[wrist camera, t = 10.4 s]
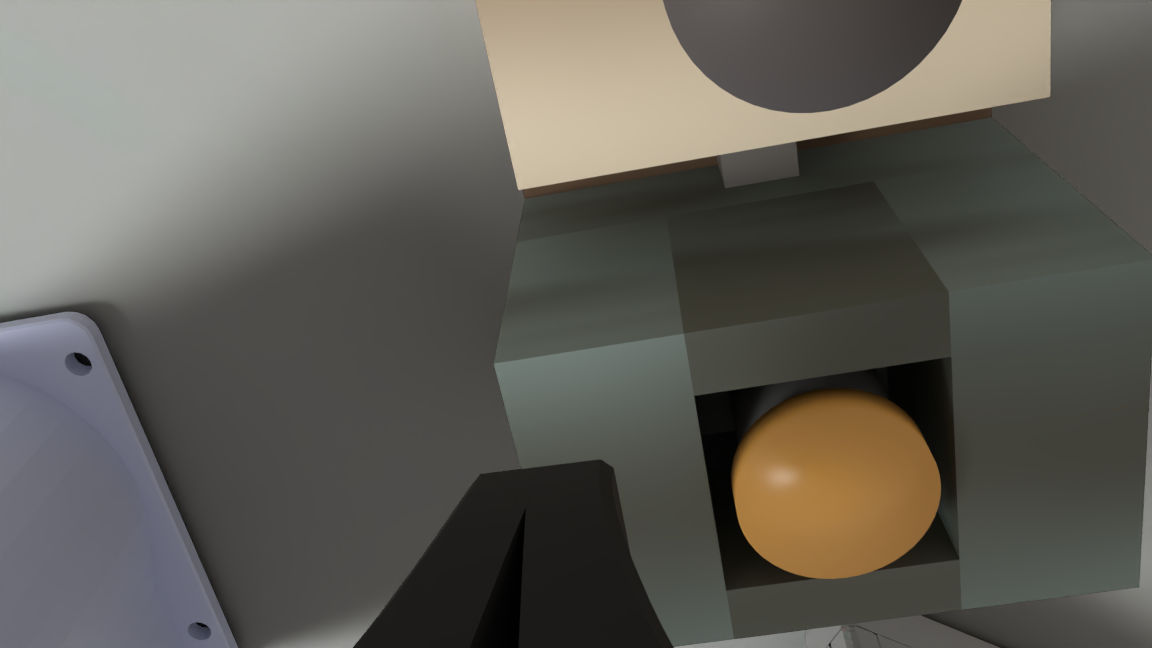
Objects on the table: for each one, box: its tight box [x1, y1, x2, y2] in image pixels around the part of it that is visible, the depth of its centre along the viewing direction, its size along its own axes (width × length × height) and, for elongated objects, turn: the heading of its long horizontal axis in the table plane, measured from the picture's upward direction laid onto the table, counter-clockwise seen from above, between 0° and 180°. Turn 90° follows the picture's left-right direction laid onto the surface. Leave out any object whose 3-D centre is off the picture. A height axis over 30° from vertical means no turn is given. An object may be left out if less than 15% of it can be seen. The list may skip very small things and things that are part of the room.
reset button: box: [728, 369, 941, 579], centre depth 16 cm, size 3×3×4 cm
